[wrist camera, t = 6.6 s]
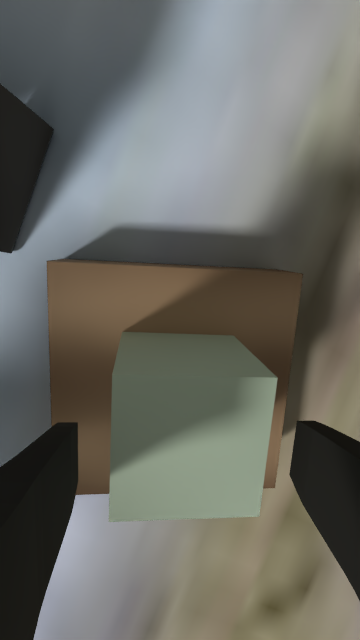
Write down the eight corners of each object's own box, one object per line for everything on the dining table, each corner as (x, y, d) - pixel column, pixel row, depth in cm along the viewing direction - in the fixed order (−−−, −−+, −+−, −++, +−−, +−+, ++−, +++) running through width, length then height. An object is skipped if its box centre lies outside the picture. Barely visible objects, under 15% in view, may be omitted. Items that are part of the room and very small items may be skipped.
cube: (223, 434, 16) (259, 516, 11) (119, 435, 15) (108, 522, 11) (233, 335, 15) (277, 377, 10) (122, 331, 14) (112, 374, 10)
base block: (255, 452, 20) (274, 487, 17) (67, 456, 19) (53, 495, 16) (276, 269, 18) (303, 273, 15) (63, 258, 16) (46, 261, 13)
